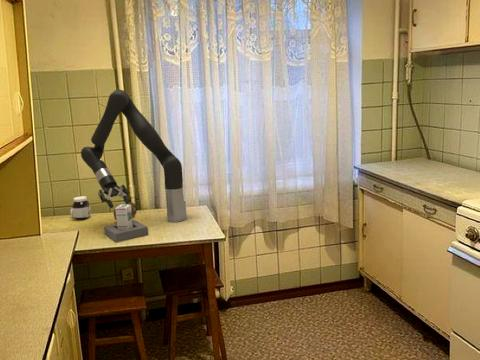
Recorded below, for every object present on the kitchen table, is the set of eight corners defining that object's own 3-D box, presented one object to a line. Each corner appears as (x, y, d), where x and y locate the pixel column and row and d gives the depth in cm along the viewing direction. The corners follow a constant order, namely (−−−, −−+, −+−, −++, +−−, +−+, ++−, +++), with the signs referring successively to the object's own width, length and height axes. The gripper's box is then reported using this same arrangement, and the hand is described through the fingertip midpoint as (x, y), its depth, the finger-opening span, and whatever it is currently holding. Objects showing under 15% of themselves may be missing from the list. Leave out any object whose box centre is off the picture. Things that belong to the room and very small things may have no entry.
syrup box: (129, 236, 241) (126, 207, 238) (118, 236, 242) (114, 207, 239) (134, 232, 246) (131, 204, 243) (123, 232, 247) (120, 204, 244)
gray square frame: (135, 227, 255) (134, 219, 254) (148, 234, 242) (147, 226, 241) (104, 234, 246) (103, 226, 245) (116, 242, 233) (115, 234, 232)
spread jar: (84, 221, 270) (82, 200, 268) (65, 221, 272) (62, 200, 270) (94, 214, 282) (92, 194, 279) (75, 214, 284) (73, 194, 281)
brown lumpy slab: (117, 223, 263) (116, 208, 261) (113, 223, 264) (111, 207, 263) (137, 215, 275) (136, 201, 273) (133, 215, 277) (132, 200, 275)
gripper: (94, 177, 241) (109, 204, 236) (120, 172, 251) (135, 197, 245) (90, 186, 246) (104, 213, 240) (116, 181, 256) (130, 206, 250)
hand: (120, 205), depth 243 cm, fingers open, 8 cm apart
